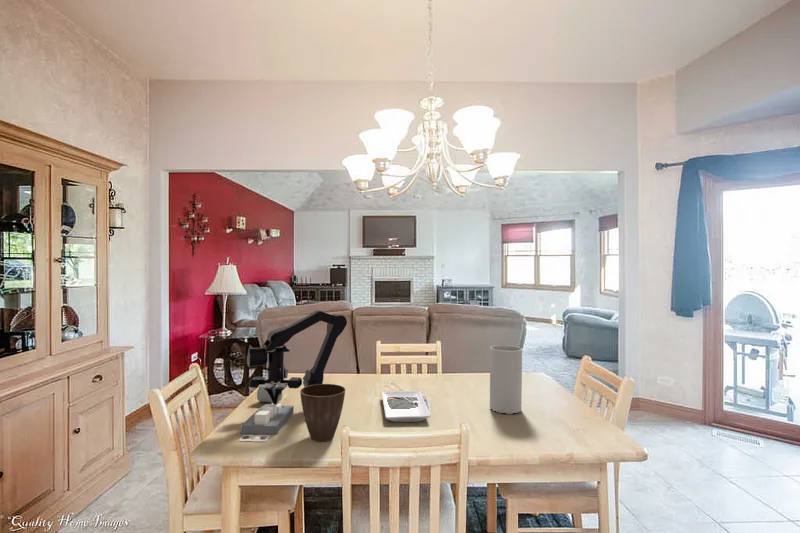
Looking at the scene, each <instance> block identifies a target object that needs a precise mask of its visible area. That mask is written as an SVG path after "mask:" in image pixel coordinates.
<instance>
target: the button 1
mask: <svg viewBox="0 0 800 533" xmlns="http://www.w3.org/2000/svg"><path fill="white" fill-rule="evenodd" d="M269 422H270V411H258V412H257V413H256V414H255V422H254V425H267V424H268V423H269Z"/></svg>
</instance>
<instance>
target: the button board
mask: <svg viewBox="0 0 800 533" xmlns="http://www.w3.org/2000/svg"><path fill="white" fill-rule="evenodd" d="M264 405H265V404H263V405H262V406H260V407H259V408H258V409H257V410H256V411H255V412H254V413H253V414H252V415H250V416H249V418H247V419H246V420H245V421H244V422H243V423H242V424H241V425H240V435H254V434H259V435H271V436H277V434H278V433H279V432H280V431H281V430H282V428H283V427H284V426H285V425H286V424H287V422H288V421H289V420H290V419H291V417H292V416H293V415H294V413H295V412H294V409H295V407H294V405H282V409H281V410H280V411H276V416H275V417H274V418H272V417H270V422H269V423H268V424H267V425H254V422H255V414H256V413H257V412H258V411H262V407H263V406H264Z"/></svg>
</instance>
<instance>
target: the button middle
mask: <svg viewBox="0 0 800 533" xmlns="http://www.w3.org/2000/svg"><path fill="white" fill-rule="evenodd" d="M263 405H264V406H263ZM263 405H262V406H263V407H262V406H261V407H262V411H270V417H272V418H274V417H275V416H276V405H277V404H272V403H267V404H265V403H264V404H263Z"/></svg>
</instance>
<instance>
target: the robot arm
mask: <svg viewBox="0 0 800 533" xmlns="http://www.w3.org/2000/svg"><path fill="white" fill-rule="evenodd" d="M319 322H324V323H327V324H326V334H325V337H324V339H323V342H322V344H321V346H320V349H319V352H318V354H317V356H316V359H315V361H314V364H313V366H312V367H311V369H305V374H304V376H303V377H302V378H301V377H299V376H298V377H297V376H296V377H293V376H292V377H290V378H289V379H288V375H289V369H286V366H285V353H287V352H288V353H289V352H290V351H291V350H290V349H288V347H287V346H286V345H285V344H286V343H288V342H289V341H290V340H291V339H292V338H293V337H294V336H295V335H297V334H299V333H301V332H303V331H305V330H306V329H308V328H310V327H312V326H314V325H316V324H317V323H319ZM347 325H348V320H347V318H346V317H345V316H344V315H343V314H339V313H333V314H330V313H327V312H324V311H322V310H320V309H319V310H318V309H316V310H314V311H313V312H312V313H310V314H308V315H306V316H304V317H302V318H300V319H299V320H297V321H295V322H293V323H291V324H289V325H287V326H283V327H279V328H276V329H272V330H271V331H269V332H268V334H267V338H266V340H265V341H264V343H263V344H262V346H261V347H249V348H248V352H247V356H246V364H247V367H249V368H251V367H260V366H265V364H268V365H267V369H266V370H267V378H266V379H265V377H264V376H254V377H252V378H251V379H250V380H249V382H248V388H251V389H252V388H254V389H255V388H259V386H260V385H265V388H264V390H267V392H268V394H269V395H270V397H271V399H272V402H273V404H277V403H279V401H280V400H279V397H280V395H281V392H282V393H283V391H284V390H285V389H286V388H289V389H299V388H300V387H301V386H302V385H303V388H304V387H306V386H310V385H316V384H324V379H325V378H324V374H325V369H326V366H327V364H328V362H329V358H330V357H331V354H332V352H333V349H334V346H335V344H336V341H337V339H338V337H339V336H341V334H342V333H343V332H344V330H345V328H346V327H347ZM276 385H277V386H278V387H277V388H276ZM278 400H279V401H278Z"/></svg>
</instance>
